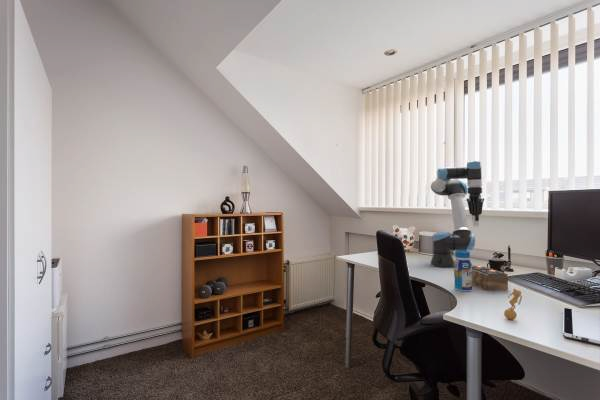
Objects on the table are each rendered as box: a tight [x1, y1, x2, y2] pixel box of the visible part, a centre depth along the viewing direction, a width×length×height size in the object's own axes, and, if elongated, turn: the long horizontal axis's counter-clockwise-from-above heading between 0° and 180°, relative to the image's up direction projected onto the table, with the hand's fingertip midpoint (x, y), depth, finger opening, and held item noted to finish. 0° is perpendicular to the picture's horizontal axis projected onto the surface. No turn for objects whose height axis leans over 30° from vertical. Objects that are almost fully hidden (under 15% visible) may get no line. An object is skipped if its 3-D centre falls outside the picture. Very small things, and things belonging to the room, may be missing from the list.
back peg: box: [474, 265, 484, 269], centre depth 169 cm, size 4×4×8 cm
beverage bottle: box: [453, 250, 473, 292], centre depth 158 cm, size 8×8×20 cm
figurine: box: [503, 288, 523, 321], centre depth 119 cm, size 8×6×12 cm
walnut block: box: [471, 265, 509, 292], centre depth 164 cm, size 18×11×9 cm, turn 5°
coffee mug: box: [486, 257, 506, 273], centre depth 183 cm, size 12×9×10 cm
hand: (475, 226), depth 182 cm, fingers closed
